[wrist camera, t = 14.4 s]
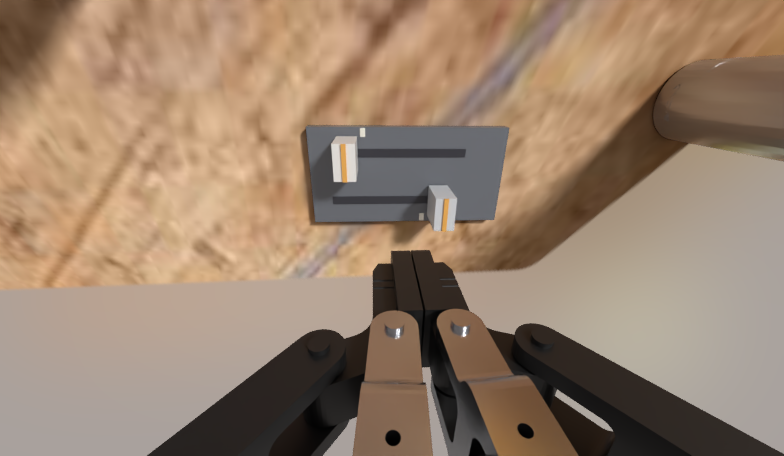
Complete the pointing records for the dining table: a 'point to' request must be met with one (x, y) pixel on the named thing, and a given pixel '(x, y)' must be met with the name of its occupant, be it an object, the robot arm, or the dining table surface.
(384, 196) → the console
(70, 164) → the dining table surface
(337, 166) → the white fader
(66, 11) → the dining table surface
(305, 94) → the dining table surface
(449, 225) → the grey fader
